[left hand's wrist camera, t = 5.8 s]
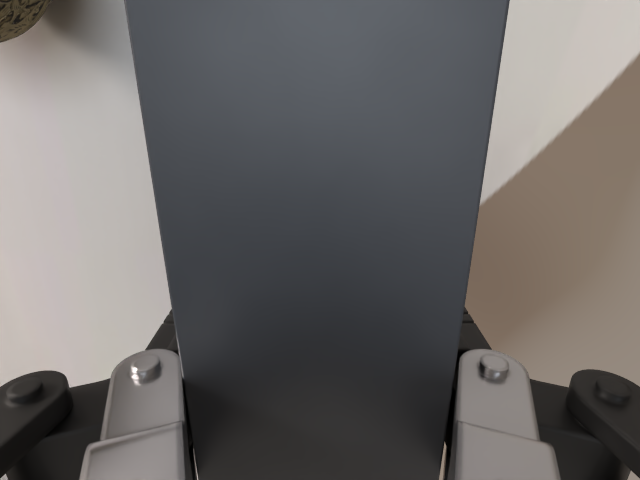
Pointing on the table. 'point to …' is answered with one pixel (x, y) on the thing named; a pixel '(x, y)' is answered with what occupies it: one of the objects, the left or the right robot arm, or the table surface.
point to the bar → (317, 221)
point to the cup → (19, 16)
